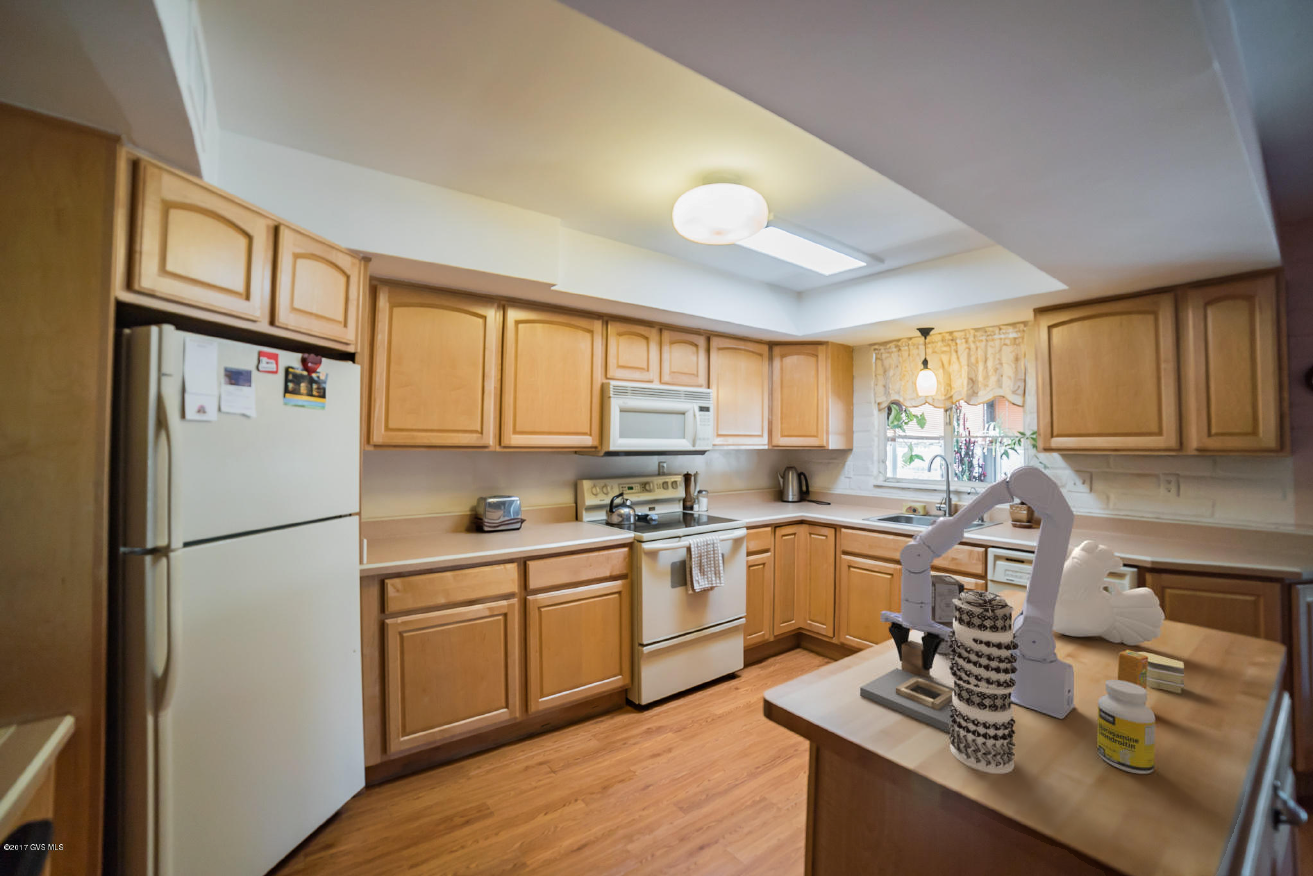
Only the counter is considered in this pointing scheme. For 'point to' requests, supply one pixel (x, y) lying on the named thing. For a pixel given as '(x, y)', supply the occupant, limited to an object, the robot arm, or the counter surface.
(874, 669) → the counter surface
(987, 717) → the decorative candle
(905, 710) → the plate
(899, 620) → the robot arm
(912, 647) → the walnut block
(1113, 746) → the pill bottle
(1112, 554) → the decorative rooster
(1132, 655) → the supplement box
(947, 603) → the coffee box
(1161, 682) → the cream layered block
